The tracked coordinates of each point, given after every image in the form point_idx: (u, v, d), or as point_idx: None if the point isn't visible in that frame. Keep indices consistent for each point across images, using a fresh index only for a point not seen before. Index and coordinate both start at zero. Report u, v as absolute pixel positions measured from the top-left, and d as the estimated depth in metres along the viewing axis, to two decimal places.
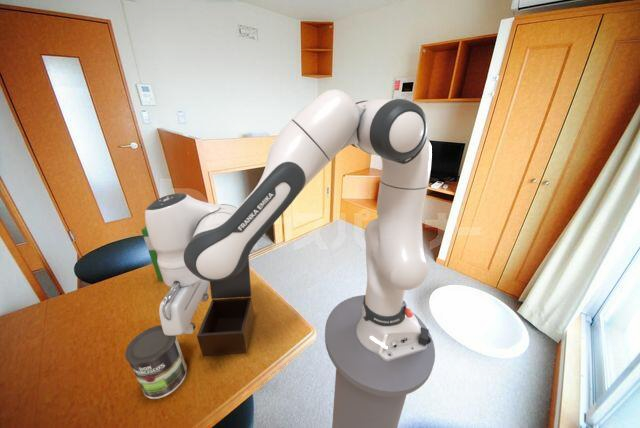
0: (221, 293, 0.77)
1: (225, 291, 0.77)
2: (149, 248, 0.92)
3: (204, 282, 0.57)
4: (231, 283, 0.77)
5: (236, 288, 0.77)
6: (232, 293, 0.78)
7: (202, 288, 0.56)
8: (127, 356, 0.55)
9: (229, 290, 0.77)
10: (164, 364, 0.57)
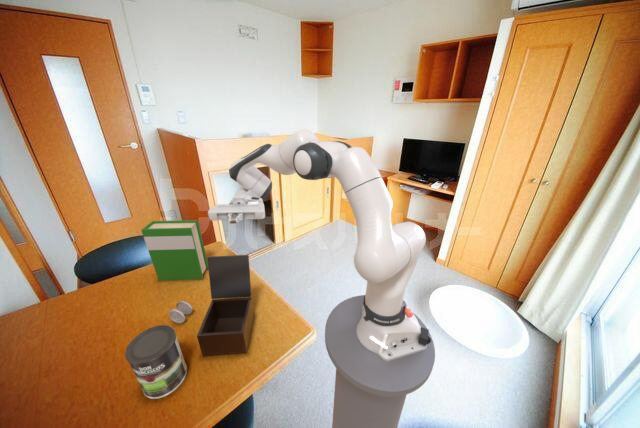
0: (221, 293, 0.77)
1: (225, 291, 0.77)
2: (149, 248, 0.92)
3: (244, 208, 0.88)
4: (231, 283, 0.77)
5: (236, 288, 0.77)
6: (232, 293, 0.78)
7: (240, 209, 0.88)
8: (127, 356, 0.55)
9: (229, 290, 0.77)
10: (164, 364, 0.57)
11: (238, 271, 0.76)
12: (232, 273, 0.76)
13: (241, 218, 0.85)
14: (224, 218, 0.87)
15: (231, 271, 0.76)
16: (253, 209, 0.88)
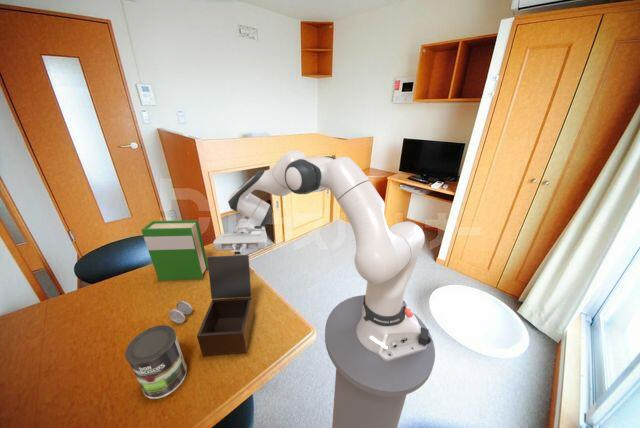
0: (221, 293, 0.77)
1: (225, 291, 0.77)
2: (149, 248, 0.92)
3: (248, 238, 0.92)
4: (231, 283, 0.77)
5: (236, 288, 0.77)
6: (232, 293, 0.78)
7: (243, 239, 0.92)
8: (127, 356, 0.55)
9: (229, 290, 0.77)
10: (164, 364, 0.57)
11: (238, 271, 0.76)
12: (232, 273, 0.76)
13: (245, 249, 0.90)
14: (228, 248, 0.91)
15: (231, 271, 0.76)
16: (256, 239, 0.92)
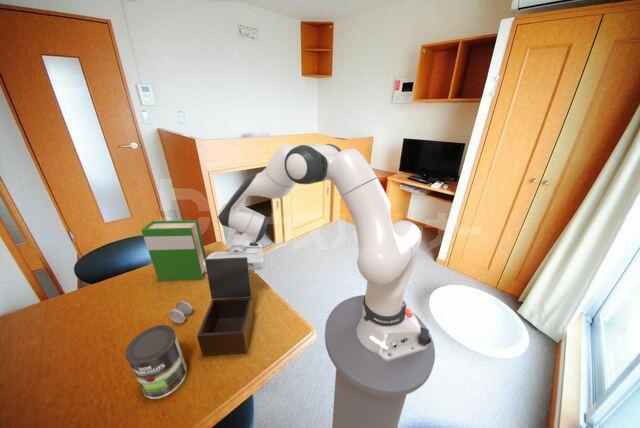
0: (221, 294, 0.77)
1: (225, 292, 0.77)
2: (149, 248, 0.92)
3: None
4: (230, 284, 0.76)
5: (236, 289, 0.77)
6: (232, 294, 0.77)
7: None
8: (127, 356, 0.55)
9: (229, 291, 0.77)
10: (164, 364, 0.57)
11: (237, 273, 0.75)
12: (231, 275, 0.75)
13: None
14: None
15: (230, 273, 0.75)
16: (251, 259, 0.81)
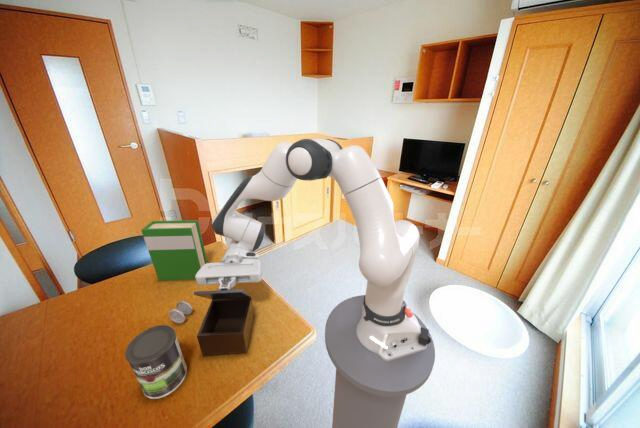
0: (220, 298, 0.76)
1: (224, 298, 0.76)
2: (149, 248, 0.92)
3: (238, 270, 0.76)
4: (228, 296, 0.73)
5: (234, 297, 0.75)
6: (231, 298, 0.77)
7: (232, 270, 0.76)
8: (127, 356, 0.55)
9: (228, 297, 0.76)
10: (164, 364, 0.57)
11: (233, 294, 0.70)
12: (227, 295, 0.70)
13: (234, 283, 0.73)
14: (214, 282, 0.75)
15: (225, 295, 0.70)
16: (248, 271, 0.76)
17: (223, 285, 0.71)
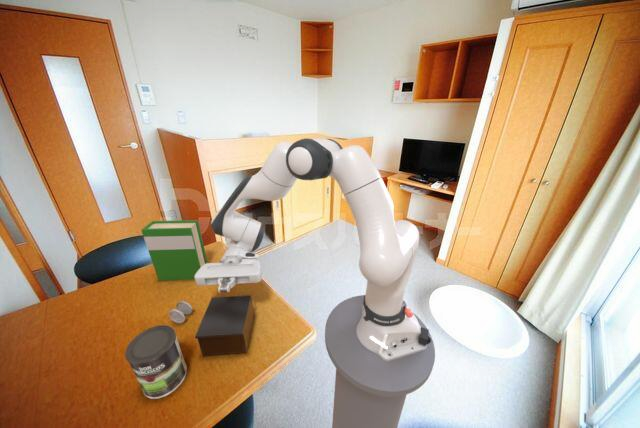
0: None
1: None
2: (149, 248, 0.92)
3: (237, 270, 0.76)
4: None
5: None
6: None
7: (232, 271, 0.75)
8: (127, 356, 0.55)
9: None
10: (164, 364, 0.57)
11: None
12: None
13: (233, 284, 0.73)
14: (213, 283, 0.75)
15: None
16: (247, 272, 0.75)
17: (222, 286, 0.71)
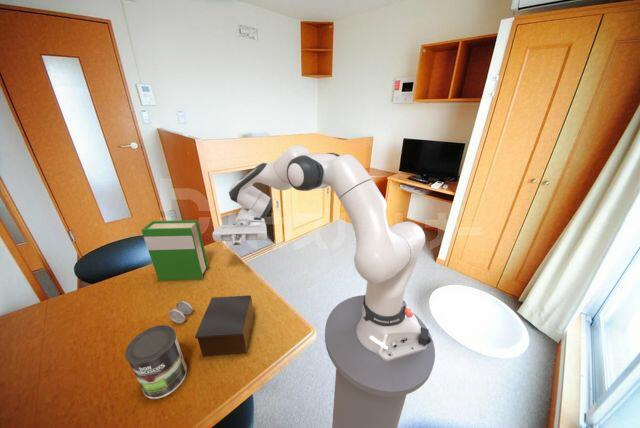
0: None
1: None
2: (149, 248, 0.92)
3: (247, 229, 0.92)
4: None
5: None
6: None
7: (243, 230, 0.91)
8: (127, 356, 0.55)
9: None
10: (164, 364, 0.57)
11: None
12: None
13: (244, 239, 0.89)
14: (228, 239, 0.91)
15: None
16: (255, 230, 0.91)
17: (236, 239, 0.87)
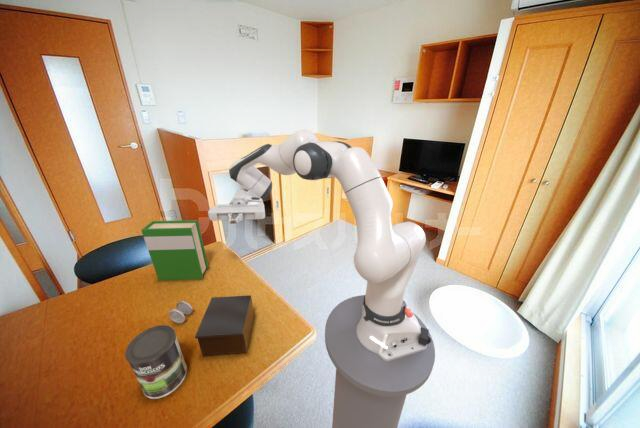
0: None
1: None
2: (149, 248, 0.92)
3: (244, 208, 0.88)
4: None
5: None
6: None
7: (240, 209, 0.88)
8: (127, 356, 0.55)
9: None
10: (164, 364, 0.57)
11: None
12: None
13: (241, 218, 0.85)
14: (224, 218, 0.87)
15: None
16: (253, 209, 0.88)
17: (232, 218, 0.83)
